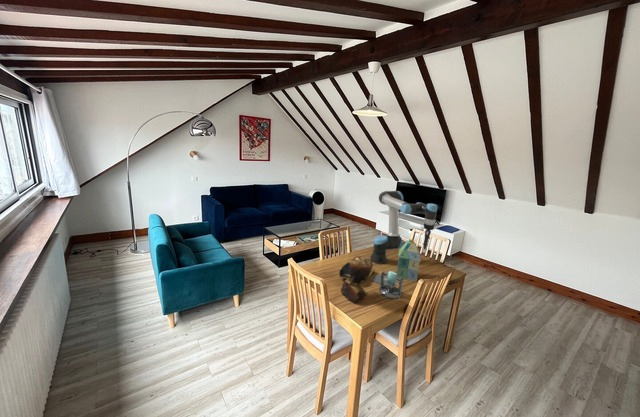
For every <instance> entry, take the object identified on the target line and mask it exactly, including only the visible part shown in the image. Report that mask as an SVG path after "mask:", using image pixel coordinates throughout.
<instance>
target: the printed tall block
mask: <svg viewBox="0 0 640 417" xmlns="http://www.w3.org/2000/svg"><path fill="white" fill-rule="evenodd" d="M421 257H422V256H421V252H420V249H419V248H418V246H417V243H416V242H415V240H414V239H411V238H410V239H408V240H407V241H405V243H403V244H402V246H401V247H400V248H398V257H397V258H398V261H397V262H398V263H397V269H396V273H397V278H398V277H399V278H402V279H403V280H408V281H413V282H417V280H418V275H419V274H418V273H419V269H420V268H419V267H420V262H421V261H422V258H421Z"/></svg>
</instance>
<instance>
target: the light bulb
mask: <svg viewBox="0 0 640 417" xmlns="http://www.w3.org/2000/svg"><path fill="white" fill-rule="evenodd" d="M387 273H388V275H387V276H385V278H384V280H387V282H388V283H390V284H395V285H397V286H399V285H400V281H398V280H397V271H394V270H389V271H387Z"/></svg>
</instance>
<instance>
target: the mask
mask: <svg viewBox="0 0 640 417" xmlns="http://www.w3.org/2000/svg"><path fill="white" fill-rule="evenodd" d="M349 264H350V262H348V261H347V263H345V264H344V265H342V266H341V267H340V269H339V271H338V276H339V278H340V279H345V280H346V279H349V277H350V275H351V273H350V270H349V268H348V266H349ZM374 272H375V268H374V269H373V268H372V269H371V272H370V274H369V276H368V278H370V277H371V276H372V274H373V273H374Z"/></svg>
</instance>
